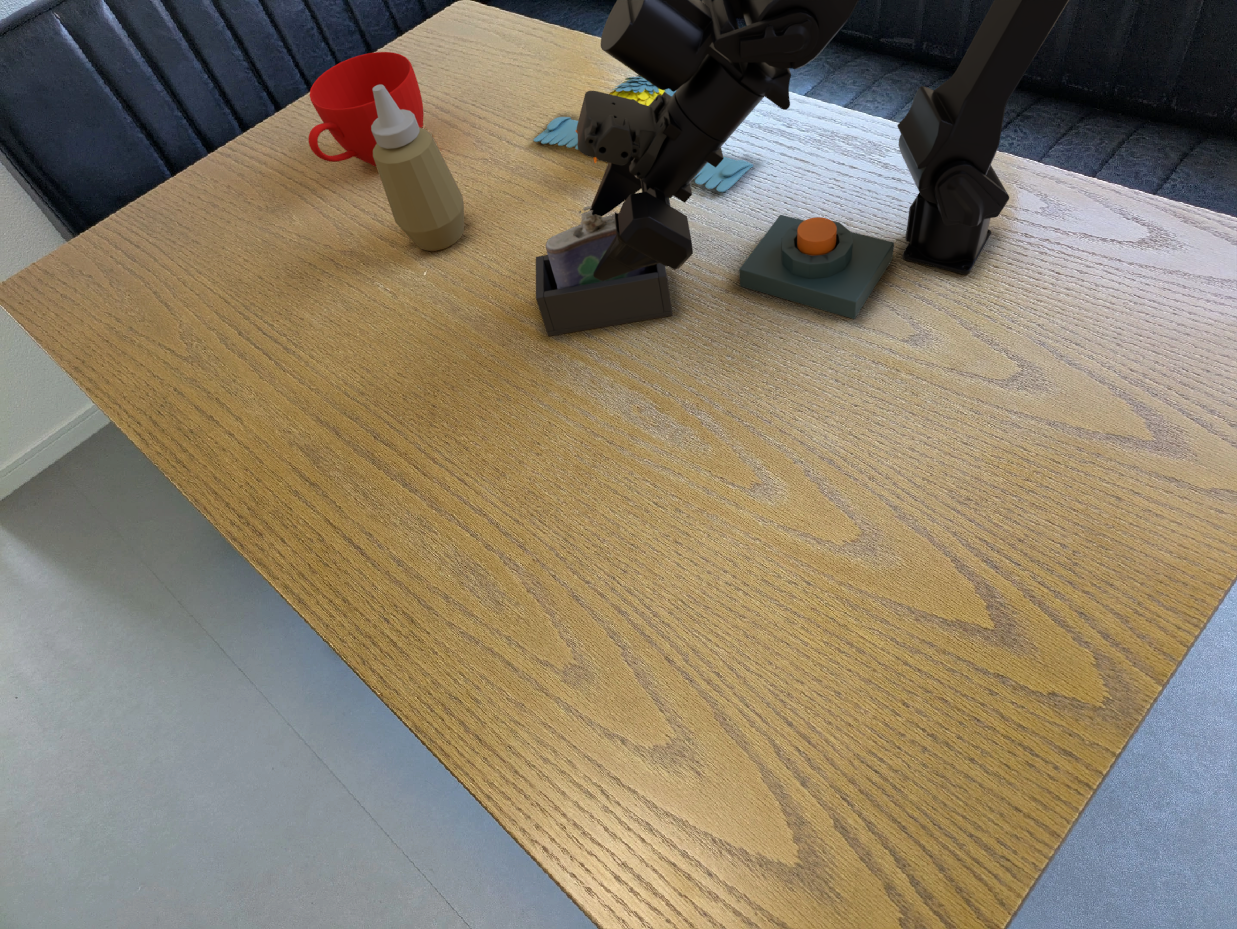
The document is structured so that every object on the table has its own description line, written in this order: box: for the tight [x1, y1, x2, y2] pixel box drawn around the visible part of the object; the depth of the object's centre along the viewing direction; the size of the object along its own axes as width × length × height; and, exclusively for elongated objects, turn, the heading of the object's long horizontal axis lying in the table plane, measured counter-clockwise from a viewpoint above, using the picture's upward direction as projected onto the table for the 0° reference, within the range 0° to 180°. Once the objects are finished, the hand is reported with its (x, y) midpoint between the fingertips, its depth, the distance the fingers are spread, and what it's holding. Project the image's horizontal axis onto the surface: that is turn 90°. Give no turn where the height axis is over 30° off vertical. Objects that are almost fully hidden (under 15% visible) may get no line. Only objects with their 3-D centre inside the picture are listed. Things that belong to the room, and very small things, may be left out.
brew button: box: [797, 216, 837, 256], centre depth 77 cm, size 4×4×2 cm
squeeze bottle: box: [371, 85, 465, 252], centre depth 87 cm, size 8×8×18 cm
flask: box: [545, 205, 650, 289], centre depth 78 cm, size 9×3×11 cm, turn 106°
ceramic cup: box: [307, 51, 424, 168], centre depth 102 cm, size 13×17×10 cm
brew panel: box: [738, 214, 895, 320], centre depth 79 cm, size 12×9×4 cm
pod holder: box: [535, 254, 674, 337], centre depth 81 cm, size 13×6×5 cm, turn 94°
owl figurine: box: [533, 74, 754, 193], centre depth 94 cm, size 28×9×15 cm
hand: (595, 245), depth 77 cm, fingers open, 9 cm apart
